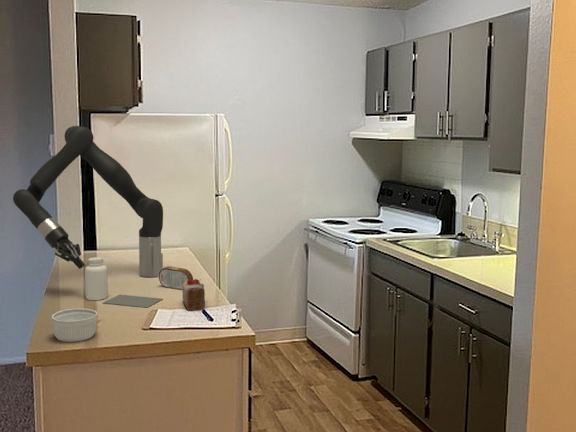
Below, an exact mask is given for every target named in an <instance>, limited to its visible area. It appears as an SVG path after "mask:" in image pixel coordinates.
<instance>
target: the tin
mask: <svg viewBox="0 0 576 432" xmlns="http://www.w3.org/2000/svg"><path fill="white" fill-rule="evenodd" d="M158 280H159V283H160V284H161V285H162V287H164V288H166V289H172V290H173V289H175V290H179V291H182V288H183V282H184V281H187V280H194V276H193V274H192V273H191V271H189V270H188V269H187V268H182V267H176V266H175V267H174V266H165V267H163V269H162V270H161V271H160V272H159V276H158Z"/></svg>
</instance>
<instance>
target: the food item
mask: <svg viewBox="0 0 576 432" xmlns="http://www.w3.org/2000/svg"><path fill="white" fill-rule="evenodd" d="M181 291H182V302H183V303H184V305H185V307H186V309H187V311H191V312H193V311H204V310H205V307H206V306H205V303H206V301H205V300H206V299H205V298H206V297H205V296H206V293H205V284H204V283H201V282H200V279H197V278H195V279H194V278H193V280H187V281H184V282H183V288H182V290H181Z"/></svg>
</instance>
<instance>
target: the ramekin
mask: <svg viewBox="0 0 576 432" xmlns="http://www.w3.org/2000/svg"><path fill="white" fill-rule="evenodd" d="M97 320H98V311H96V310H94V309H91V308H85V307H84V308H82V307H79V308H69V309H63V310H59V311H57V312H54V313H53V314H52V315H51V322H52V327H53V333H54V335H55V338H57V340H58V341H59V342H65V343H75V342H81V341H86V340H89V339H91V338H92V337H94V334H95V333H96V329H97V328H96V327H97Z"/></svg>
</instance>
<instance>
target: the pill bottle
mask: <svg viewBox="0 0 576 432" xmlns="http://www.w3.org/2000/svg"><path fill="white" fill-rule="evenodd" d="M87 262H88V263H87V264H88V265H87V266H86V267H85V268H84V281H85V282H84V285H85V298H86V299H87V300H89V301H102V300H104V299H107V298H108V297H109V286H108V285H109V284H108V267H107V266H106V265H105V264H104V258H103V257H99V256H97V257H89V258H88V259H87Z"/></svg>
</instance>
